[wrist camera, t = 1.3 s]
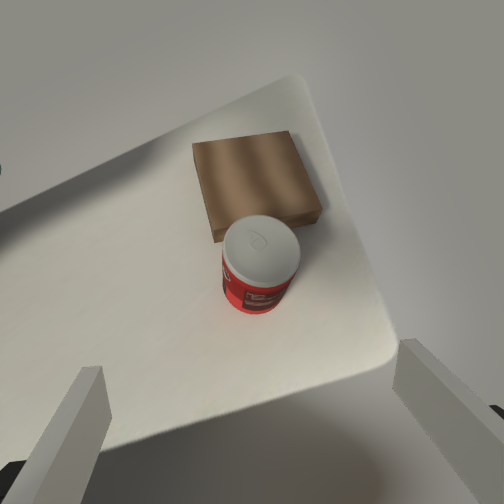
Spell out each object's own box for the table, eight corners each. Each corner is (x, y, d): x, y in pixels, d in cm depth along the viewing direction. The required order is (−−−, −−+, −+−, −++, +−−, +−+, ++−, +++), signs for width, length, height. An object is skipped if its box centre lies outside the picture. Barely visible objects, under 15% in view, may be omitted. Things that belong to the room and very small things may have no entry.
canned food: (244, 248, 43) (250, 201, 33) (293, 281, 41) (316, 241, 31) (209, 292, 39) (205, 253, 30) (261, 328, 38) (275, 301, 28)
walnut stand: (214, 242, 42) (213, 229, 39) (193, 160, 49) (191, 143, 46) (315, 222, 45) (322, 209, 42) (284, 147, 52) (288, 130, 48)
